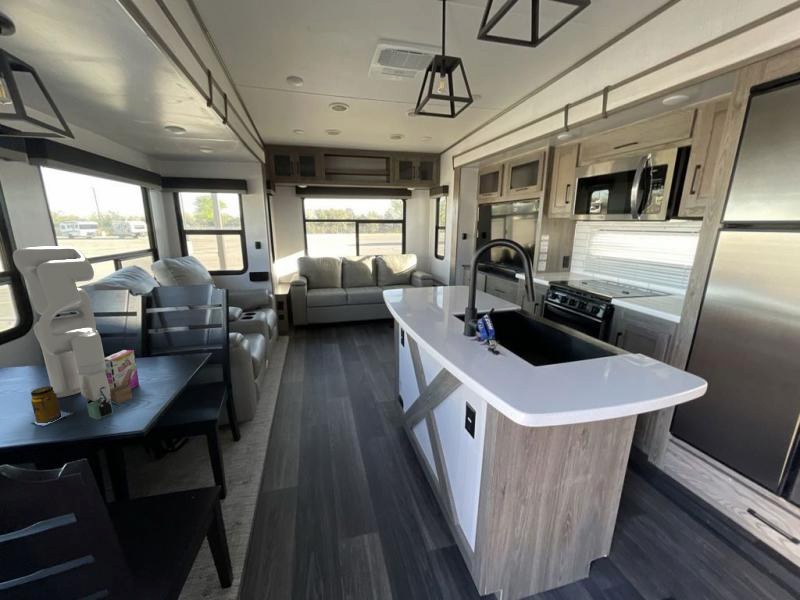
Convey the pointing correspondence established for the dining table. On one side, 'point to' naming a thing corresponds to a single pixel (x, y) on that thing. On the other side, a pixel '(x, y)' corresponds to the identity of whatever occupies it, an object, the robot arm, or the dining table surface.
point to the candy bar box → (121, 369)
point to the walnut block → (120, 394)
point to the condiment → (45, 405)
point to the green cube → (95, 409)
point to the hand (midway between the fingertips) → (100, 411)
